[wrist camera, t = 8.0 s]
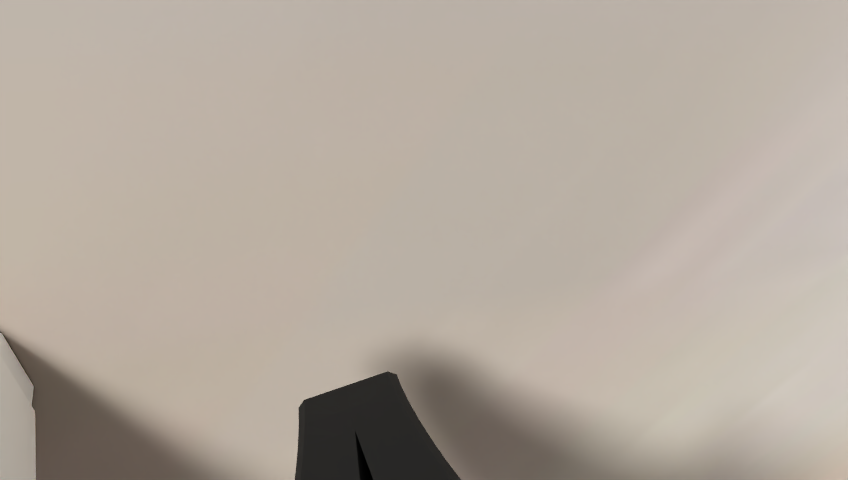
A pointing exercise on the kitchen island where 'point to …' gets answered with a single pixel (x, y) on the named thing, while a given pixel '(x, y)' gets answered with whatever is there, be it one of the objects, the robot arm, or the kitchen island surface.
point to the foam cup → (16, 419)
